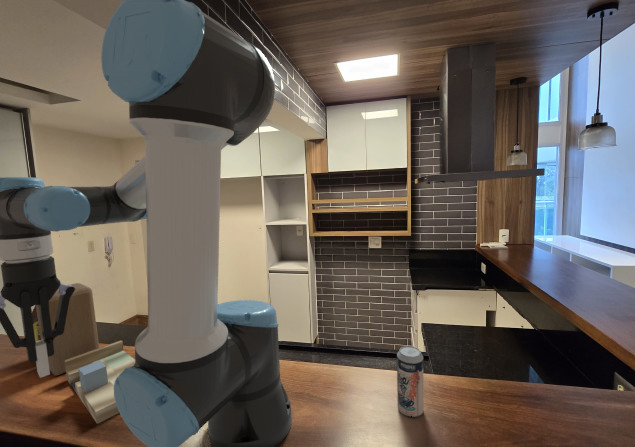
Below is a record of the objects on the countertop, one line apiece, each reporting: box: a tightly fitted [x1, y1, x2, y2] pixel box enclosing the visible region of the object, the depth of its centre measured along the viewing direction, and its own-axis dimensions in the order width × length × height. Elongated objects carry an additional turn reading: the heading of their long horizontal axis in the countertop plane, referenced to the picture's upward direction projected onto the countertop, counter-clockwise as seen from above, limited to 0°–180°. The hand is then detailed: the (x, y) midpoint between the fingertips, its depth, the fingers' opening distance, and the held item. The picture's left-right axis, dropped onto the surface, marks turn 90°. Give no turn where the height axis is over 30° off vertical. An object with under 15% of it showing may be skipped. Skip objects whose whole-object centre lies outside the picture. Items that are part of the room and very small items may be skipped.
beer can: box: [396, 345, 424, 418], centre depth 59 cm, size 5×5×12 cm
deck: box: [64, 340, 135, 425], centre depth 71 cm, size 23×12×5 cm, turn 50°
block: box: [36, 282, 100, 376], centre depth 81 cm, size 10×10×20 cm
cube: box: [79, 361, 108, 393], centre depth 67 cm, size 4×4×4 cm
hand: (43, 373), depth 62 cm, fingers closed
